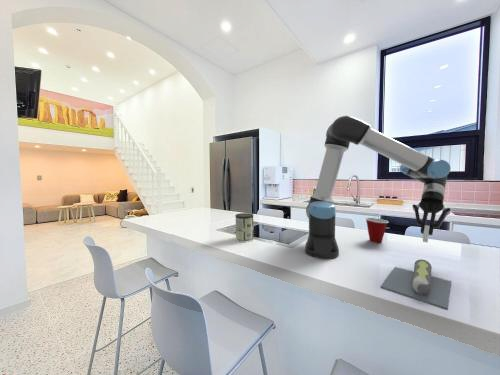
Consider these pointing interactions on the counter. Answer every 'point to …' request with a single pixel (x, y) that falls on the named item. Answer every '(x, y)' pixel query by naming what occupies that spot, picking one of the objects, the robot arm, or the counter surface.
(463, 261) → the counter surface
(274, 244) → the counter surface
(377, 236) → the plastic cup
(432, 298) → the slate mat
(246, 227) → the coffee can
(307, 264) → the counter surface
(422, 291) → the patterned grey cylinder
